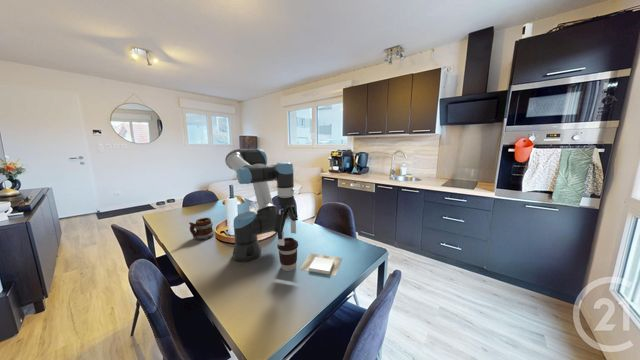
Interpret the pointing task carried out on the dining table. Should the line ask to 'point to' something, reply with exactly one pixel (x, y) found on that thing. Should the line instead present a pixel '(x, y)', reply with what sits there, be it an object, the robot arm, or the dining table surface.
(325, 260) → the tile
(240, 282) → the dining table surface
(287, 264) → the coffee cup
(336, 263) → the board
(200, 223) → the mug
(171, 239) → the dining table surface
